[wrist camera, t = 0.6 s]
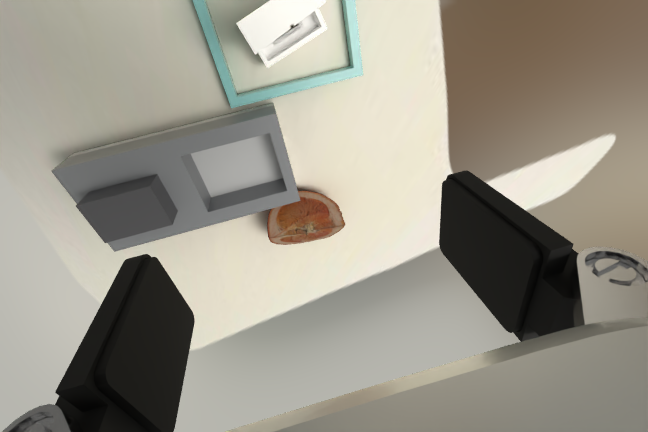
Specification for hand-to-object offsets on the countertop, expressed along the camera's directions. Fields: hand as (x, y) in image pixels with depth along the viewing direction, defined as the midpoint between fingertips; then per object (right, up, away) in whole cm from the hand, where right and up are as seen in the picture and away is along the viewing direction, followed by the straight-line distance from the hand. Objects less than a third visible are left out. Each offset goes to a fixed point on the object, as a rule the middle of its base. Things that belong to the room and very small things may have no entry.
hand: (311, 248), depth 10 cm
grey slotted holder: (-13, +6, +21) cm, 26 cm away
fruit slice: (-2, +2, +27) cm, 27 cm away
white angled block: (-3, +18, +16) cm, 24 cm away
